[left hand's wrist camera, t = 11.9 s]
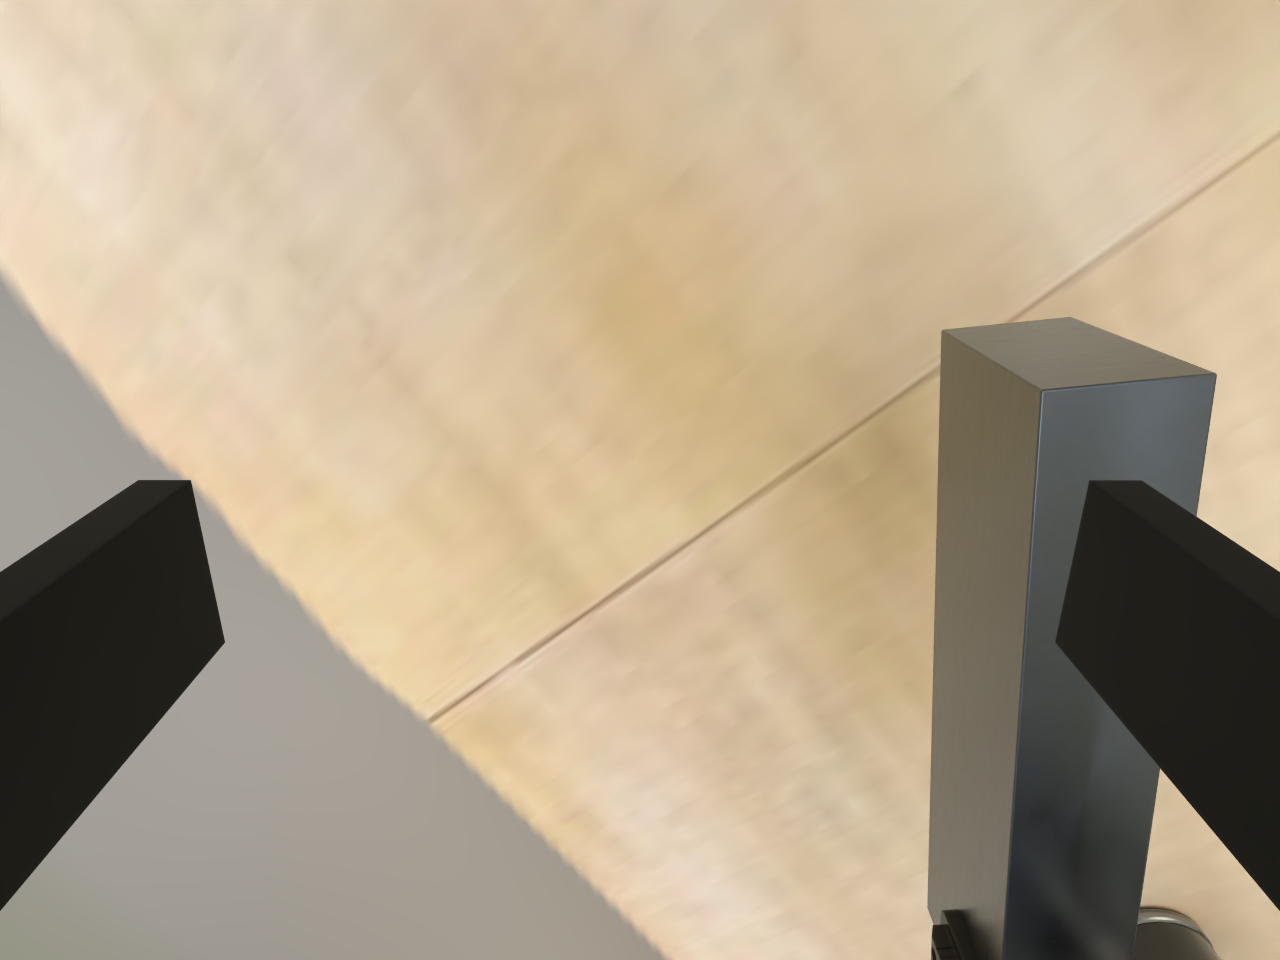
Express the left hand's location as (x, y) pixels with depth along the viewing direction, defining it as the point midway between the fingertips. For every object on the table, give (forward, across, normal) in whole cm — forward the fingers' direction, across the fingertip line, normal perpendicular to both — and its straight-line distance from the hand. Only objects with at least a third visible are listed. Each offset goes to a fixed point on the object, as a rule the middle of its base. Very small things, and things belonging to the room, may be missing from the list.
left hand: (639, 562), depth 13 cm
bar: (+18, +14, -14) cm, 27 cm away
